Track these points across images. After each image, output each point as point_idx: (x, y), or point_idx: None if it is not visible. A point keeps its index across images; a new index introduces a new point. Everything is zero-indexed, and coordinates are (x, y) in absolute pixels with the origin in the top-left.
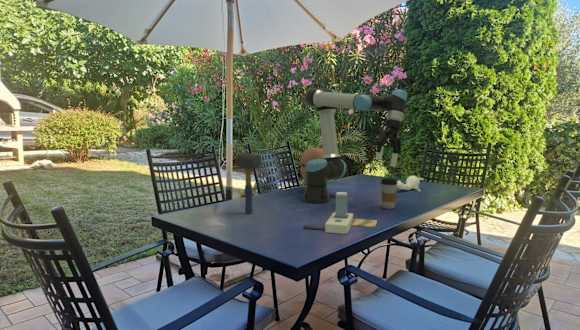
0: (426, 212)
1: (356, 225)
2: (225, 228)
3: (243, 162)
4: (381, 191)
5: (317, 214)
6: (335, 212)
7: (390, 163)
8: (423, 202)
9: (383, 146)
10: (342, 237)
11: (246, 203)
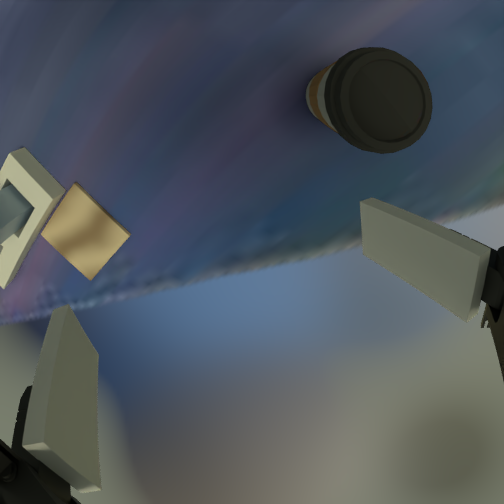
0: None
1: (50, 242)
2: None
3: None
4: (325, 70)
5: (15, 66)
6: (12, 158)
7: (376, 210)
8: (492, 141)
9: (94, 489)
10: None
11: None
